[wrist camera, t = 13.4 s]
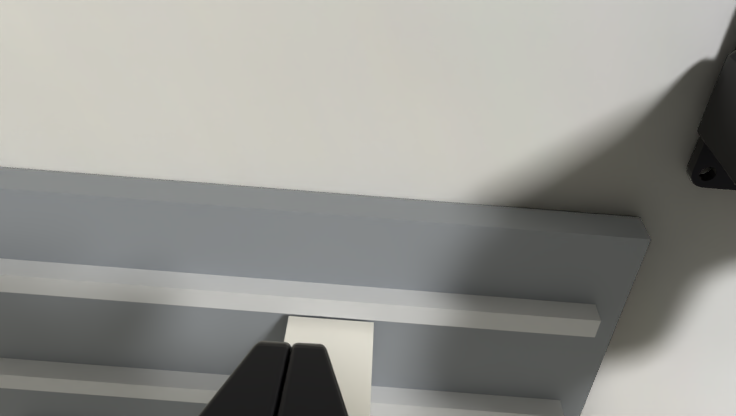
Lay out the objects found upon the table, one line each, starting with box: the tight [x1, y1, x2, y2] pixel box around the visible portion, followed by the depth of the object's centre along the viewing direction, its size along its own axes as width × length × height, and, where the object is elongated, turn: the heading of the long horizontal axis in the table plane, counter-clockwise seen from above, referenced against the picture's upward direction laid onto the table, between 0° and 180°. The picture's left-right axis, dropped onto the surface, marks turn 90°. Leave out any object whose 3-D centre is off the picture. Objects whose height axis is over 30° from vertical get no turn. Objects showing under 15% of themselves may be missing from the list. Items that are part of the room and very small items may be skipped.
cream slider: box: [284, 316, 374, 416], centre depth 23 cm, size 3×4×4 cm
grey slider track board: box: [0, 167, 651, 416], centre depth 28 cm, size 24×20×2 cm
